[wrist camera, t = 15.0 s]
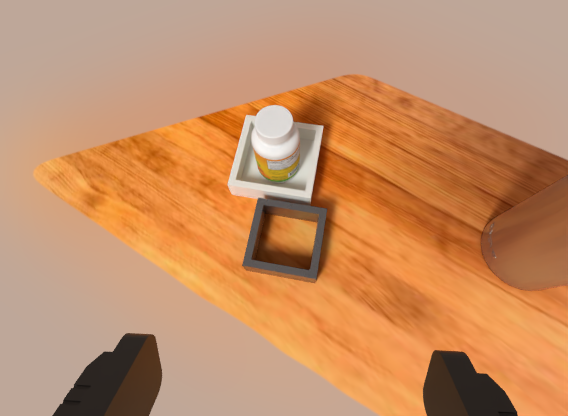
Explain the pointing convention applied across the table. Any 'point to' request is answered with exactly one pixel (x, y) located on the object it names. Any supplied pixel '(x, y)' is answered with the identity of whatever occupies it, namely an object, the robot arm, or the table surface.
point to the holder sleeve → (292, 212)
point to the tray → (253, 185)
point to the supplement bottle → (276, 144)
